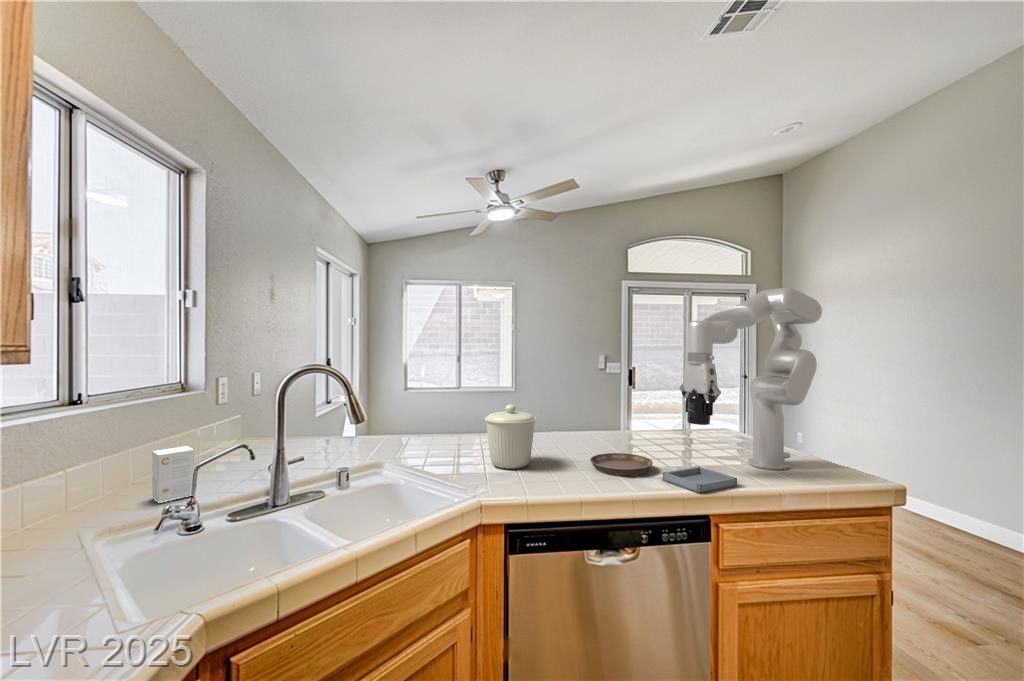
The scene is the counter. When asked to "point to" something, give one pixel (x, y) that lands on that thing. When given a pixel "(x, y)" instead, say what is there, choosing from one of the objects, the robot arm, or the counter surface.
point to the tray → (699, 479)
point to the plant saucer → (621, 463)
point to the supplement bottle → (697, 409)
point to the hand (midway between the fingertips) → (698, 413)
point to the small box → (172, 473)
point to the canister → (510, 437)
